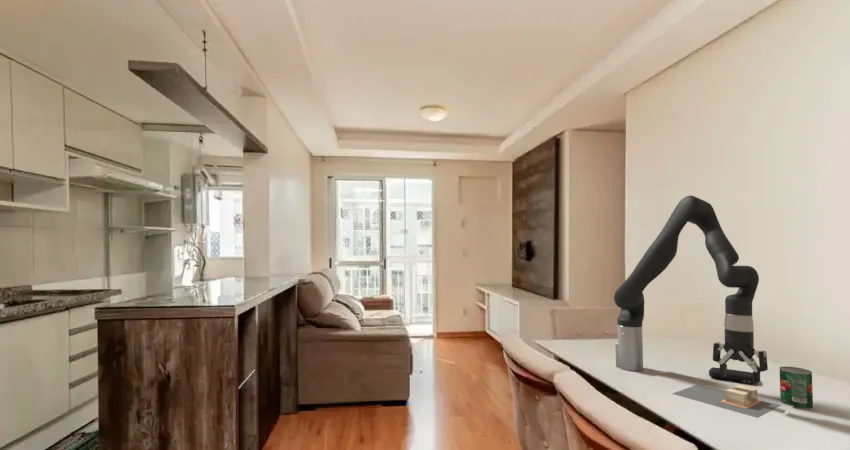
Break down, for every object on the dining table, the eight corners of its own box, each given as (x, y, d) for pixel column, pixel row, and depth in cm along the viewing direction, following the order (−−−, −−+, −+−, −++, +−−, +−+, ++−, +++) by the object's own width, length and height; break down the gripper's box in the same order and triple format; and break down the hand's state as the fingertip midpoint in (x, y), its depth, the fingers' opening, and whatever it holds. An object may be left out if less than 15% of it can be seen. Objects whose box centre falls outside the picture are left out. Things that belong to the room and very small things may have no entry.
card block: (739, 395, 142) (738, 384, 142) (757, 400, 138) (757, 389, 138) (725, 401, 137) (725, 390, 137) (744, 406, 133) (743, 395, 133)
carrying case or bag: (709, 380, 162) (758, 387, 154) (709, 372, 162) (758, 379, 154) (708, 373, 171) (755, 380, 163) (708, 365, 171) (755, 371, 163)
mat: (671, 395, 145) (671, 393, 145) (698, 385, 155) (698, 383, 155) (757, 419, 125) (757, 416, 125) (781, 407, 135) (781, 404, 135)
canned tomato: (773, 400, 140) (772, 366, 141) (798, 400, 140) (797, 366, 141) (793, 409, 132) (792, 373, 133) (820, 410, 132) (819, 373, 133)
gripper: (770, 331, 134) (771, 384, 134) (719, 323, 146) (719, 372, 146) (760, 333, 130) (761, 388, 130) (708, 325, 142) (709, 375, 142)
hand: (739, 379), depth 138 cm, fingers open, 8 cm apart
